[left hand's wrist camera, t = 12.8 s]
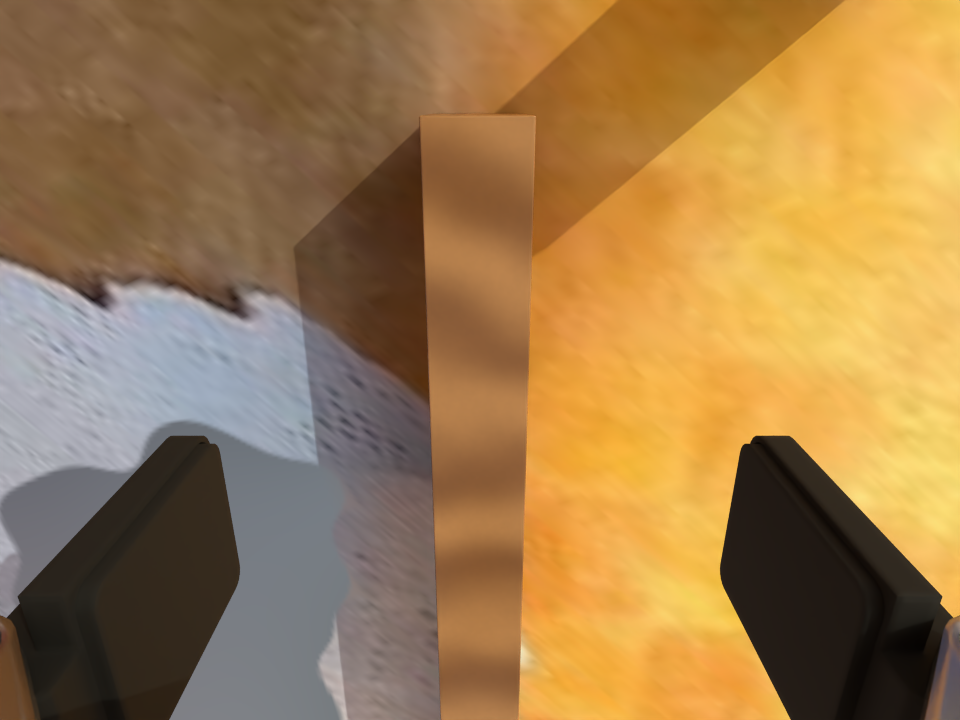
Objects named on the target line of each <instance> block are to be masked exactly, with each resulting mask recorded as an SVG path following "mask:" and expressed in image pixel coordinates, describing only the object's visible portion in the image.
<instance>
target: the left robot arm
mask: <svg viewBox="0 0 960 720" xmlns="http://www.w3.org/2000/svg"><path fill="white" fill-rule="evenodd" d="M239 575H240V565H239V558H238V553H237V547H236V541H235V536H234V530H233V524H232V519H231V513H230V507H229V502H228V496H227V490H226V485H225V479H224V473H223V468H222V462H221V456H220V451H219V448H218V446H217V445H216V444H210V443H209V441H208V439H207V438H206V437H205V436H170V437H169V438H167V439H166V440H165V441H164V442H163V443H162V444H161V445H160V447H159V448H158V449H157V450H156V451H155V452H154V453H153V454H152V455H151V456H150V457H149V458H148V459H147V460H146V461H145V462H144V463H143V464H142V466H141V467H140V468H139V469H138V470H137V471H136V472H135V473H134V474H133V475H132V476H131V477H130V478H129V479H128V480H127V481H126V482H125V484H124V485H123V486H122V487H121V488H120V489H119V490H118V491H117V492H116V493H115V494H114V495H113V496H112V497H111V498H110V499H109V500H108V501H107V503H106V504H105V505H104V506H103V507H102V508H101V509H100V510H99V511H98V512H97V513H96V514H95V515H94V516H93V517H92V518H91V519H90V521H89V522H88V523H87V524H86V525H85V526H84V527H83V528H82V529H81V530H80V531H79V532H78V533H77V534H76V535H75V536H74V537H73V538H72V540H71V541H70V542H69V543H68V544H67V545H66V546H65V547H64V548H63V549H62V550H61V551H60V552H59V553H58V554H57V555H56V556H55V558H54V559H53V560H52V561H51V562H50V563H49V564H48V565H47V566H46V567H45V568H44V569H43V570H42V571H41V572H40V573H39V574H38V575H37V577H36V578H35V579H34V580H33V581H32V582H31V583H30V584H29V585H28V586H27V587H26V588H25V589H24V590H23V591H22V592H21V593H20V595H19V596H18V599H19V602H20V604H19V605H18V606H17V607H16V608H15V609H14V611H13V612H12V613H11V614H10V615H9V616H8V617H7V618H5V617H3V616H1V615H0V720H169V719H170V717H171V715H172V713H173V711H174V709H175V707H176V705H177V703H178V701H179V699H180V697H181V695H182V693H183V691H184V689H185V687H186V685H187V684H188V682H189V680H190V678H191V676H192V674H193V672H194V670H195V668H196V666H197V664H198V662H199V660H200V658H201V656H202V654H203V652H204V650H205V648H206V646H207V644H208V642H209V640H210V638H211V636H212V634H213V632H214V630H215V628H216V626H217V624H218V622H219V620H220V619H221V616H222V615H223V613H224V611H225V609H226V607H227V605H228V603H229V601H230V599H231V597H232V595H233V593H234V591H235V589H236V587H237V584H238V581H239ZM720 575H721V581H722V584H723V587H724V589H725V591H726V593H727V595H728V597H729V599H730V601H731V603H732V605H733V607H734V609H735V611H736V613H737V615H738V617H739V619H740V621H741V622H742V624H743V626H744V628H745V630H746V632H747V634H748V636H749V638H750V640H751V642H752V644H753V646H754V648H755V650H756V652H757V654H758V656H759V658H760V660H761V662H762V664H763V666H764V668H765V670H766V672H767V674H768V676H769V678H770V680H771V682H772V684H773V685H774V687H775V689H776V691H777V693H778V695H779V697H780V699H781V701H782V703H783V705H784V707H785V709H786V711H787V713H788V715H789V717H790V719H791V720H960V615H959V616H957V617H955V618H953V617H952V616H951V615H950V614H949V613H948V612H947V611H946V609H945V608H944V607H943V606H942V605H941V604H940V602H941V599H942V596H941V595H940V593H939V592H938V591H937V590H936V589H935V588H934V587H933V586H932V585H931V584H930V583H929V582H928V581H927V580H926V579H925V578H924V577H923V575H922V574H921V573H920V572H919V571H918V570H917V569H916V568H915V567H914V566H913V565H912V564H911V563H910V562H909V561H908V560H907V559H906V558H905V556H904V555H903V554H902V553H901V552H900V551H899V550H898V549H897V548H896V547H895V546H894V545H893V544H892V543H891V542H890V541H889V540H888V538H887V537H886V536H885V535H884V534H883V533H882V532H881V531H880V530H879V529H878V528H877V527H876V526H875V525H874V524H873V523H872V522H871V521H870V519H869V518H868V517H867V516H866V515H865V514H864V513H863V512H862V511H861V510H860V509H859V508H858V507H857V506H856V505H855V504H854V503H853V501H852V500H851V499H850V498H849V497H848V496H847V495H846V494H845V493H844V492H843V491H842V490H841V489H840V488H839V487H838V486H837V485H836V484H835V482H834V481H833V480H832V479H831V478H830V477H829V476H828V475H827V474H826V473H825V472H824V471H823V470H822V469H821V468H820V467H819V466H818V464H817V463H816V462H815V461H814V460H813V459H812V458H811V457H810V456H809V455H808V454H807V453H806V452H805V451H804V450H803V449H802V448H801V446H800V445H799V444H798V443H797V442H796V441H795V440H794V439H793V438H791V437H790V436H755V437H754V438H753V439H752V441H751V443H750V444H744V445H743V446H742V448H741V451H740V456H739V462H738V467H737V473H736V479H735V484H734V490H733V496H732V502H731V507H730V513H729V519H728V524H727V530H726V536H725V541H724V547H723V553H722V558H721V564H720Z"/></svg>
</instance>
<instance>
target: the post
mask: <svg viewBox="0 0 960 720" xmlns="http://www.w3.org/2000/svg"><path fill="white" fill-rule="evenodd" d="M419 121H420V149H421V177H422V205H423V233H424V262H425V290H426V318H427V346H428V374H429V403H430V431H431V459H432V487H433V515H434V543H435V572H436V600H437V628H438V656H439V684H440V713H441V720H518V719H519V685H520V651H521V616H522V582H523V547H524V513H525V479H526V444H527V410H528V375H529V341H530V307H531V272H532V238H533V203H534V169H535V135H536V116H534V115H529V114H429V115H422V116H420V117H419Z"/></svg>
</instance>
